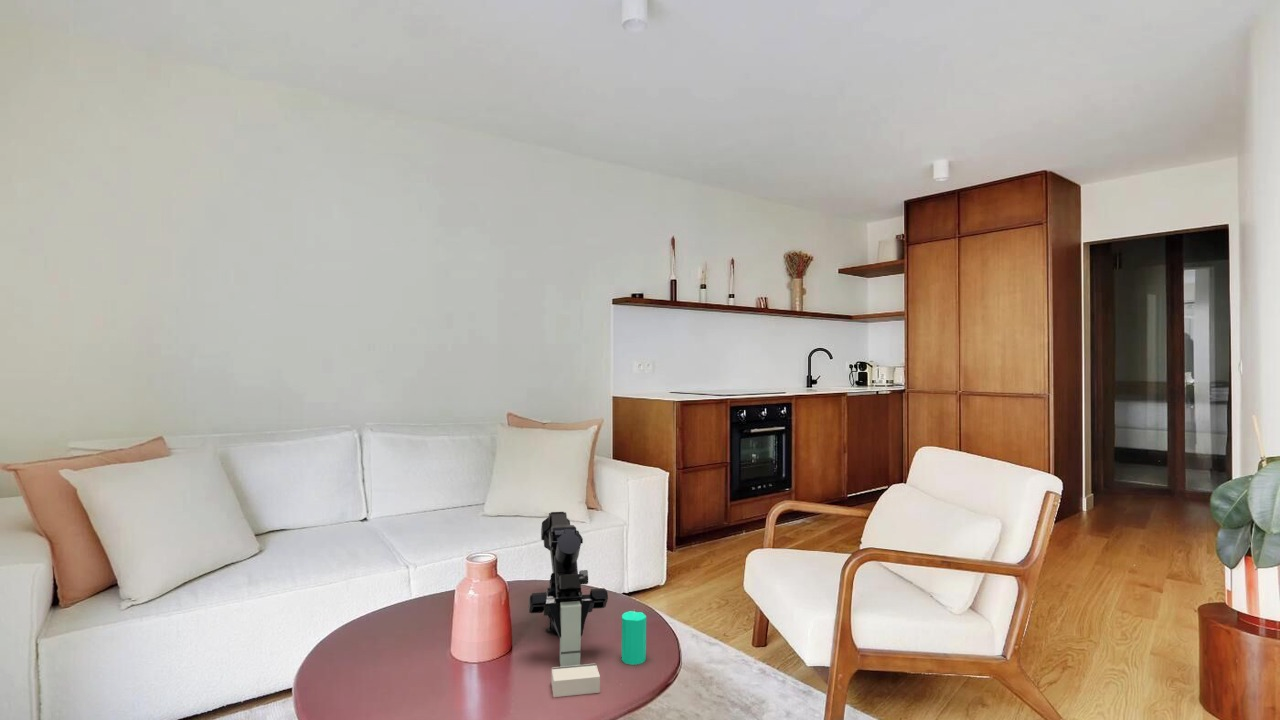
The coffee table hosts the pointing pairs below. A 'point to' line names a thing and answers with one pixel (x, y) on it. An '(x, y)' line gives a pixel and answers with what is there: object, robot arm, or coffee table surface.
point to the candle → (633, 637)
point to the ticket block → (575, 680)
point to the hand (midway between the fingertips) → (570, 636)
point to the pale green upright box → (570, 633)
